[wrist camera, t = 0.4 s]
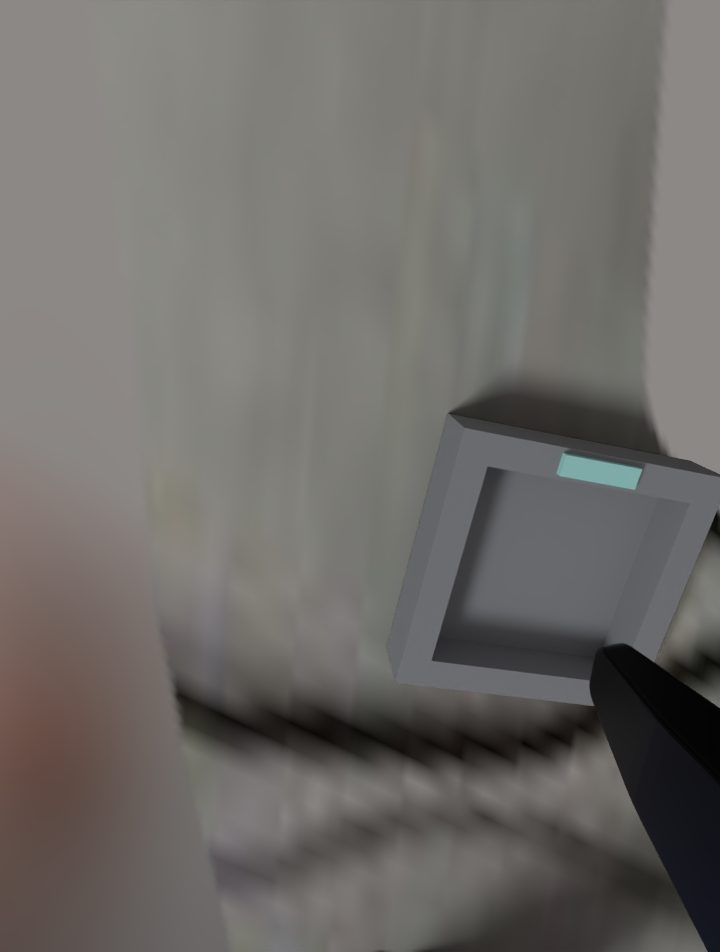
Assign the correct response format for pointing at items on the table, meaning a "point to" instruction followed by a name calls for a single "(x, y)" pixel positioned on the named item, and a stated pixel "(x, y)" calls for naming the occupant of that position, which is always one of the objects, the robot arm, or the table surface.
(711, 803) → the robot arm
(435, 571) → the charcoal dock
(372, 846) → the table surface
